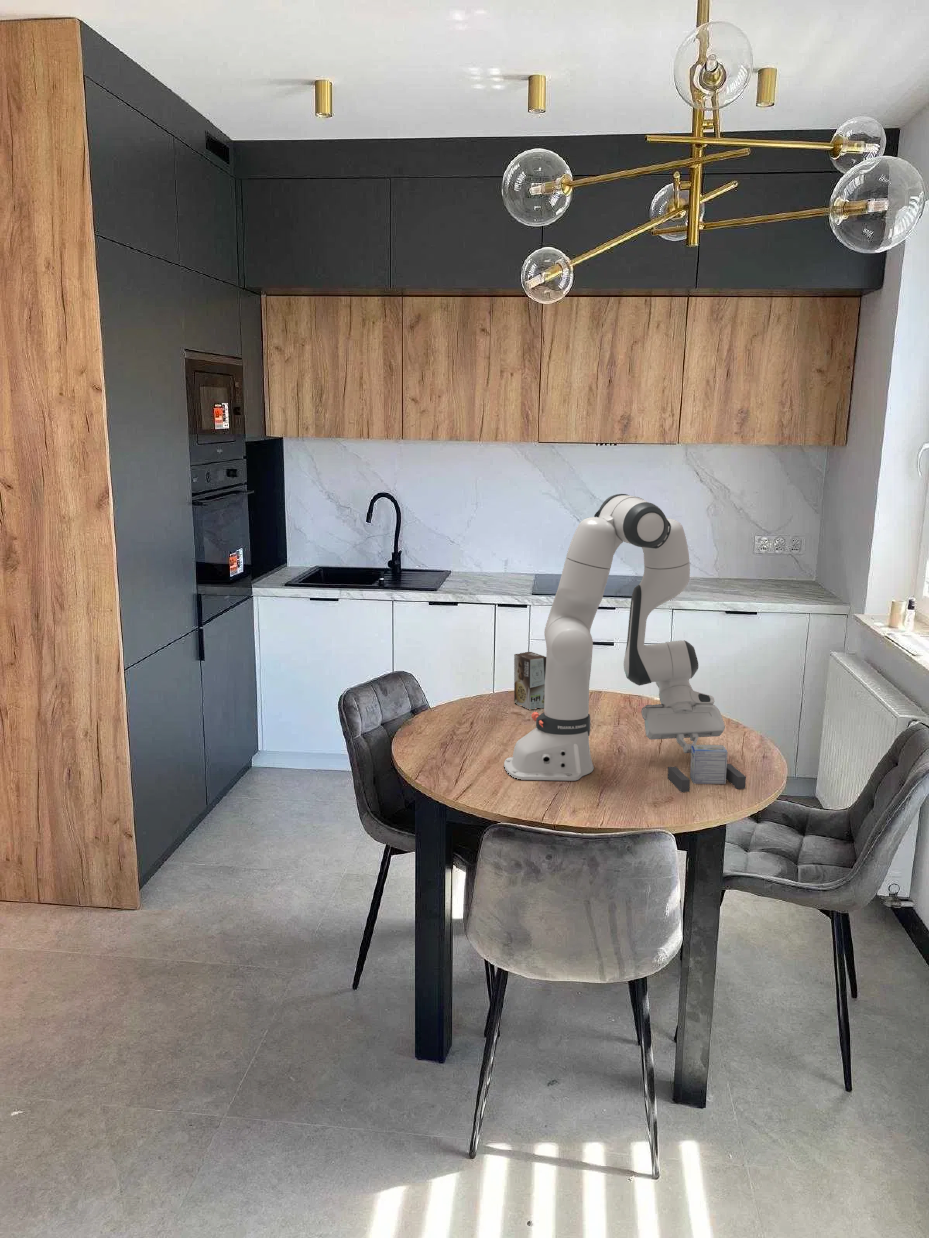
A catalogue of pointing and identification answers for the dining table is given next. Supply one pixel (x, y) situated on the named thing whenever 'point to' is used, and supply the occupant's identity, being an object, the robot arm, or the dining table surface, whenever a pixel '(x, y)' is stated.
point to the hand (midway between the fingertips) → (690, 751)
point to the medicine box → (708, 764)
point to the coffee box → (529, 680)
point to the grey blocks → (684, 783)
